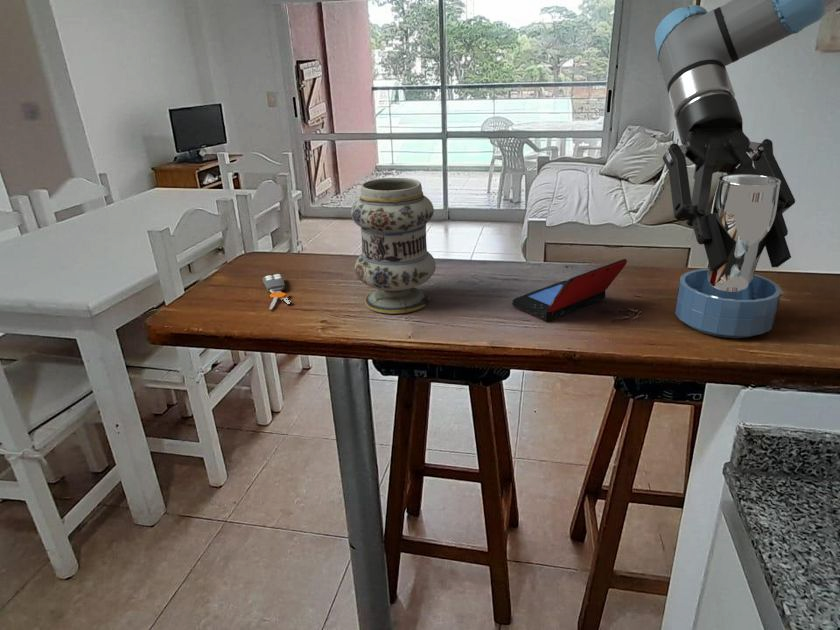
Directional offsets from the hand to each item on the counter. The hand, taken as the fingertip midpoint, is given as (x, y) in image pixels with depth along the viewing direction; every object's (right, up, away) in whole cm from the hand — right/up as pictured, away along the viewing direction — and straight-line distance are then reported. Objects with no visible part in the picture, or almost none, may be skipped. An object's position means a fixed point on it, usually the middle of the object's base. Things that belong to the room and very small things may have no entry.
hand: (750, 264), depth 69 cm
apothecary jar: (-44, -4, +18) cm, 47 cm away
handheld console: (-19, -5, +14) cm, 24 cm away
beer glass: (0, -4, +6) cm, 7 cm away
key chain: (-63, -3, +23) cm, 67 cm away
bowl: (0, -7, +7) cm, 10 cm away
